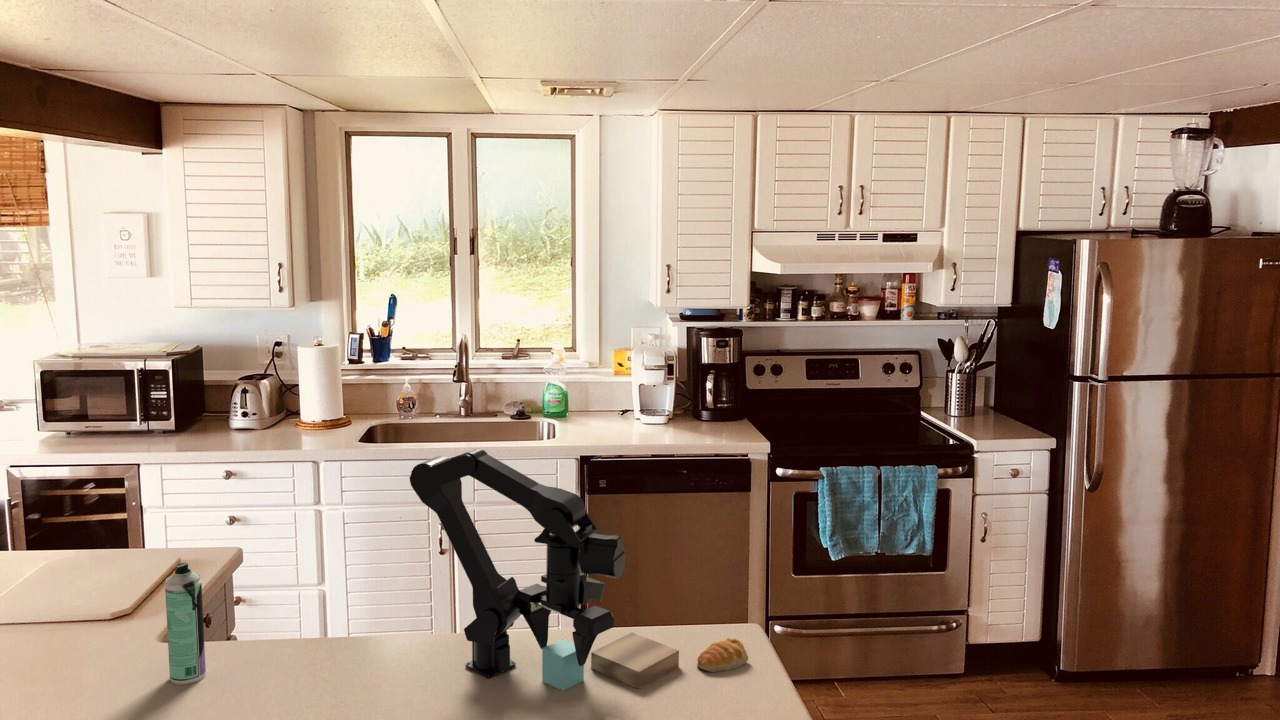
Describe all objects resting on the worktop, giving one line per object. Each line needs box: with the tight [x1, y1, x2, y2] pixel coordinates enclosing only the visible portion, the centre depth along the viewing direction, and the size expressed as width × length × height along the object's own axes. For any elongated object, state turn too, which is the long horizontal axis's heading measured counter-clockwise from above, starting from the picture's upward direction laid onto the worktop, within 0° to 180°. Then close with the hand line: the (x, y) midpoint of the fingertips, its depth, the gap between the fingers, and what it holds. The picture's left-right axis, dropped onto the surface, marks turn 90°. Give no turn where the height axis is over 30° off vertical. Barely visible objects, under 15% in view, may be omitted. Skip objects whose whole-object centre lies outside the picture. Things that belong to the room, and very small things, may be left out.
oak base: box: [590, 632, 680, 690], centre depth 163 cm, size 11×11×3 cm
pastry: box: [696, 637, 749, 673], centre depth 165 cm, size 9×7×4 cm
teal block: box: [541, 638, 585, 691], centre depth 158 cm, size 5×5×6 cm
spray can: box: [164, 562, 207, 686], centre depth 156 cm, size 6×6×20 cm
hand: (562, 656), depth 157 cm, fingers open, 9 cm apart
